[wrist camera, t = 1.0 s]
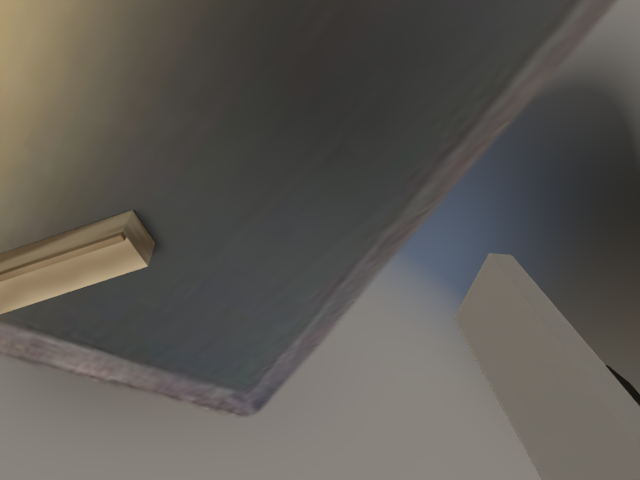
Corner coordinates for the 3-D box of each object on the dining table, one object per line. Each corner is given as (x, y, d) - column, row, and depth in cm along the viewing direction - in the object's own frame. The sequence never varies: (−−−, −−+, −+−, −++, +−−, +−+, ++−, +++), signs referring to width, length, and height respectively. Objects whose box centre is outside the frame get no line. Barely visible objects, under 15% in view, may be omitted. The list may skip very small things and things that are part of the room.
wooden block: (-69, 276, 37) (-100, 307, 34) (132, 209, 36) (120, 235, 33) (-34, 305, 40) (-60, 337, 36) (155, 243, 39) (146, 270, 35)
